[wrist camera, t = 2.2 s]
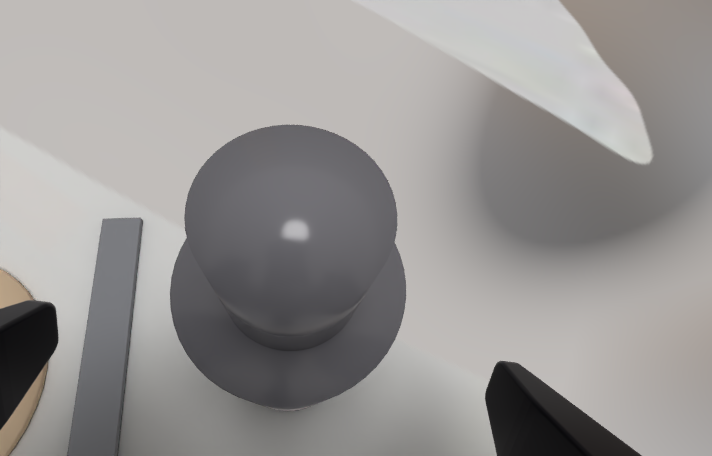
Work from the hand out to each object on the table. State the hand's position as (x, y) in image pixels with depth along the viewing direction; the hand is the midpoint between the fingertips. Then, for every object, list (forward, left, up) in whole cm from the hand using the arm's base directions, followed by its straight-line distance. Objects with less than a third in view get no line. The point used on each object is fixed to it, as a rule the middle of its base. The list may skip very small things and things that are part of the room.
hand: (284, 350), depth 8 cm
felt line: (-6, +4, -9) cm, 11 cm away
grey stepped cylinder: (+1, +1, -9) cm, 9 cm away
